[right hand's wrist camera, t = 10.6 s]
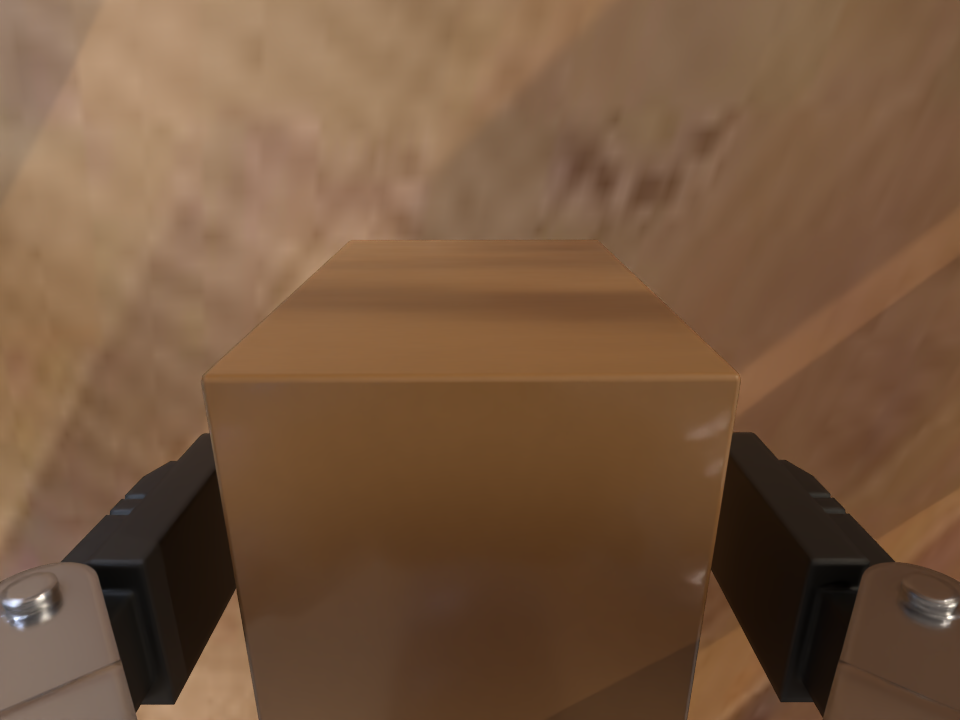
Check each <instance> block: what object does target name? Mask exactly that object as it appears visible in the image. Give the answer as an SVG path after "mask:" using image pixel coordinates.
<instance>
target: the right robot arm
mask: <svg viewBox="0 0 960 720" xmlns="http://www.w3.org/2000/svg"><path fill="white" fill-rule="evenodd" d="M711 570H712V572H713V574H714V576H715V578H716V580H717V582H718V584H719V585H720V587H721V589H722V591H723V593H724V595H725V597H726V599H727V601H728V603H729V605H730V606H731V608H732V610H733V612H734V614H735V616H736V618H737V620H738V622H739V624H740V625H741V627H742V629H743V631H744V633H745V635H746V637H747V639H748V641H749V643H750V645H751V646H752V648H753V650H754V652H755V654H756V656H757V658H758V660H759V662H760V664H761V666H762V667H763V669H764V671H765V673H766V675H767V677H768V679H769V681H770V683H771V685H772V686H773V688H774V690H775V692H776V694H777V696H778V698H779V700H780V702H814V703H815V705H816V707H817V708H818V710H819V712H820V714H821V715H822V717H823V720H960V582H959V581H957V580H955V579H953V578H951V577H949V576H947V575H945V574H942V573H940V572H937V571H934V570H932V569H929V568H925V567H922V566H918V565H913V564H908V563H900V562H895V561H894V560H893V559H892V558H891V557H890V556H889V555H888V554H887V553H886V552H885V551H884V550H883V549H882V547H881V546H880V545H879V544H878V543H877V542H876V541H875V540H874V539H873V538H872V537H871V536H870V535H869V534H868V533H867V532H866V531H865V530H864V529H863V528H862V527H861V526H860V525H859V524H858V522H857V521H856V520H855V519H854V518H853V517H852V516H851V515H850V514H846V513H845V509H844V508H843V507H842V506H841V505H840V504H839V503H838V502H837V501H836V500H835V499H834V498H831V497H830V493H829V492H828V491H827V490H826V489H825V488H824V487H823V486H822V485H821V484H820V483H819V482H818V481H817V480H816V479H815V478H814V477H813V476H812V475H810V474H809V473H807V472H805V471H804V470H802V469H800V468H798V467H797V466H795V465H793V464H791V463H790V462H788V461H786V460H778V459H777V458H776V457H775V456H774V454H773V453H772V452H771V451H770V450H769V449H768V448H767V447H766V446H765V444H764V443H763V442H762V441H761V440H760V439H759V438H758V437H757V436H756V435H755V434H754V433H751V432H733V433H732V439H731V445H730V452H729V458H728V464H727V471H726V477H725V483H724V489H723V496H722V502H721V508H720V515H719V521H718V527H717V534H716V540H715V546H714V553H713V559H712V565H711ZM235 589H236V583H235V578H234V572H233V566H232V560H231V554H230V548H229V543H228V537H227V531H226V525H225V519H224V513H223V507H222V502H221V496H220V490H219V484H218V478H217V472H216V466H215V461H214V455H213V449H212V443H211V437H210V433H205V434H202V435H201V436H200V437H199V438H198V439H197V440H196V441H195V442H194V443H193V444H192V446H191V447H190V448H189V449H188V450H187V451H186V452H185V453H184V454H183V455H182V457H181V458H180V459H179V460H178V461H170V462H168V463H166V464H165V465H163V466H161V467H160V468H158V469H156V470H154V471H153V472H151V473H149V474H147V475H146V476H144V477H143V478H142V479H141V480H140V481H139V482H138V483H137V484H136V485H135V486H134V487H133V488H132V489H131V490H130V491H129V492H128V493H127V494H126V495H125V499H121V500H120V501H119V502H118V503H117V504H116V506H115V507H114V508H113V509H112V510H111V511H110V515H106V516H105V517H104V518H103V519H102V520H101V521H100V522H99V523H98V524H97V525H96V526H95V527H94V528H93V529H92V530H91V531H90V532H89V533H88V534H87V535H86V536H85V538H84V539H83V540H82V541H81V542H80V543H79V544H78V545H77V546H76V547H75V548H74V549H73V550H72V551H71V552H70V553H69V554H68V555H67V556H66V557H65V558H64V559H63V560H62V561H61V562H60V563H52V564H47V565H42V566H38V567H35V568H31V569H28V570H26V571H23V572H20V573H18V574H15V575H13V576H11V577H9V578H7V579H5V580H3V581H1V582H0V720H137V716H136V712H137V710H138V708H139V707H140V705H174V704H175V702H176V700H177V698H178V697H179V695H180V693H181V691H182V689H183V687H184V685H185V683H186V682H187V680H188V678H189V676H190V674H191V672H192V670H193V668H194V666H195V665H196V663H197V661H198V659H199V657H200V655H201V653H202V651H203V650H204V648H205V646H206V644H207V642H208V640H209V638H210V636H211V634H212V633H213V631H214V629H215V627H216V625H217V623H218V621H219V619H220V618H221V616H222V614H223V612H224V610H225V608H226V606H227V604H228V602H229V601H230V599H231V597H232V595H233V593H234V591H235Z"/></svg>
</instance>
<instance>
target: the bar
mask: <svg viewBox="0 0 960 720" xmlns="http://www.w3.org/2000/svg"><path fill="white" fill-rule="evenodd" d="M740 382H741V379H740V375H739V373H737V372H736V371H735V370H734V369H733V368H732V367H731V366H730V365H729V364H728V363H727V362H726V361H725V360H724V359H723V358H722V357H721V356H720V355H718V354H717V353H716V352H715V351H714V350H713V349H712V348H711V347H710V346H709V345H708V344H707V343H706V342H705V341H704V340H703V339H702V338H701V337H699V336H698V335H697V334H696V333H695V332H694V331H693V330H692V329H691V328H690V327H689V326H688V325H687V324H686V323H685V322H684V321H683V320H682V319H680V318H679V317H678V316H677V315H676V314H675V313H674V312H673V311H672V310H671V309H670V308H669V307H668V306H667V305H666V304H665V303H664V302H663V301H661V300H660V299H659V298H658V297H657V296H656V295H655V294H654V293H653V292H652V291H651V290H650V289H649V288H648V287H647V286H646V285H645V284H644V283H642V282H641V281H640V280H639V279H638V278H637V277H636V276H635V275H634V274H633V273H632V272H631V271H630V270H629V269H628V268H627V267H626V266H625V265H623V264H622V263H621V262H620V261H619V260H618V259H617V258H616V257H615V256H614V255H613V254H612V253H611V252H610V251H609V250H608V249H607V248H606V247H604V246H603V245H602V244H601V243H600V242H599V241H597V240H351V241H349V242H348V243H347V244H346V245H345V246H344V247H343V248H341V249H340V250H339V251H338V252H337V253H336V254H335V255H334V256H333V257H332V258H331V259H329V260H328V261H327V262H326V263H325V264H324V265H323V266H322V267H321V268H320V269H318V270H317V271H316V272H315V273H314V274H313V275H312V276H311V277H310V278H309V279H308V280H306V281H305V282H304V283H303V284H302V285H301V286H300V287H299V288H298V289H297V290H296V291H294V292H293V293H292V294H291V295H290V296H289V297H288V298H287V299H286V300H285V301H284V302H282V303H281V304H280V305H279V306H278V307H277V308H276V309H275V310H274V311H273V312H271V313H270V314H269V315H268V316H267V317H266V318H265V319H264V320H263V321H262V322H261V323H259V324H258V325H257V326H256V327H255V328H254V329H253V330H252V331H251V332H250V333H249V334H247V335H246V336H245V337H244V338H243V339H242V340H241V341H240V342H239V343H238V344H237V345H235V346H234V347H233V348H232V349H231V350H230V351H229V352H228V353H227V354H226V355H224V356H223V357H222V358H221V359H220V360H219V361H218V362H217V363H216V364H215V365H214V366H212V367H211V368H210V369H209V370H208V371H207V372H206V373H205V374H204V375H203V376H202V380H201V385H202V390H203V396H204V402H205V408H206V414H207V420H208V425H209V431H210V437H211V443H212V449H213V455H214V461H215V466H216V472H217V478H218V484H219V490H220V496H221V502H222V507H223V513H224V519H225V525H226V531H227V537H228V543H229V548H230V554H231V560H232V566H233V572H234V578H235V583H236V589H237V595H238V601H239V607H240V613H241V619H242V624H243V630H244V636H245V642H246V648H247V654H248V660H249V665H250V671H251V677H252V683H253V689H254V695H255V701H256V706H257V712H258V718H259V720H687V716H688V710H689V704H690V697H691V691H692V685H693V679H694V672H695V666H696V660H697V653H698V647H699V641H700V634H701V628H702V622H703V616H704V609H705V603H706V597H707V590H708V584H709V578H710V571H711V565H712V559H713V553H714V546H715V540H716V534H717V527H718V521H719V515H720V508H721V502H722V496H723V489H724V483H725V477H726V471H727V464H728V458H729V452H730V445H731V439H732V433H733V426H734V420H735V414H736V408H737V401H738V395H739V389H740Z"/></svg>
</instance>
